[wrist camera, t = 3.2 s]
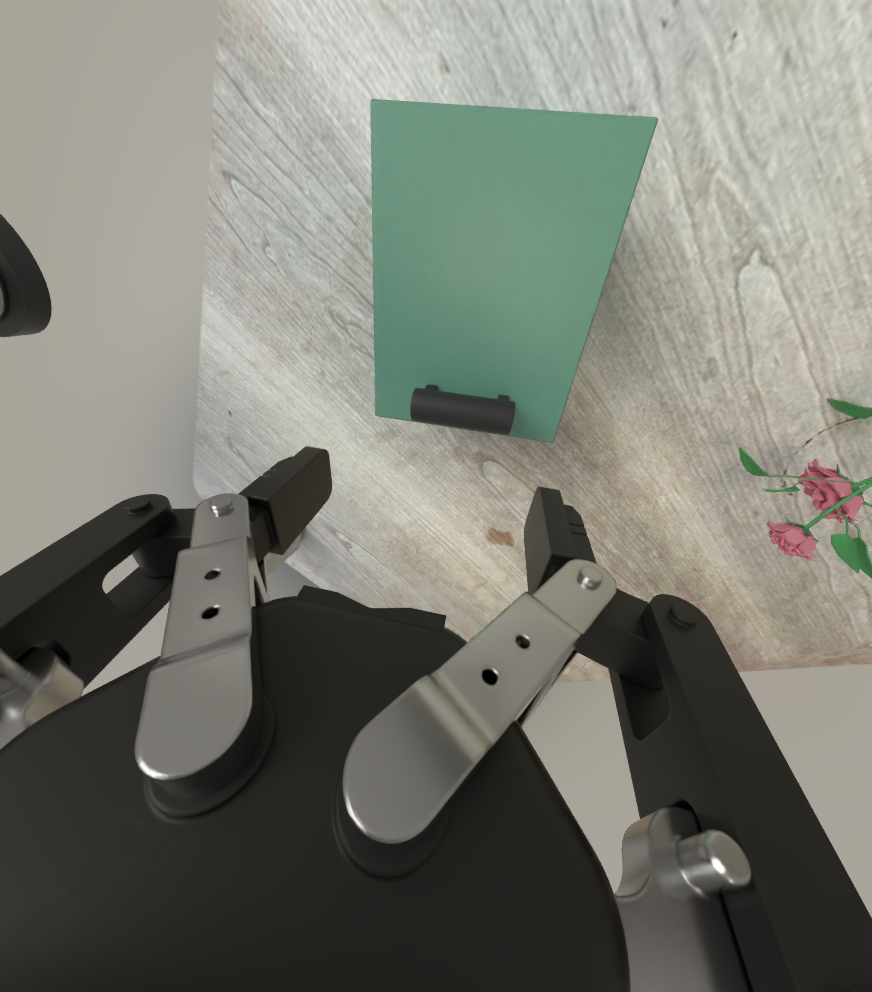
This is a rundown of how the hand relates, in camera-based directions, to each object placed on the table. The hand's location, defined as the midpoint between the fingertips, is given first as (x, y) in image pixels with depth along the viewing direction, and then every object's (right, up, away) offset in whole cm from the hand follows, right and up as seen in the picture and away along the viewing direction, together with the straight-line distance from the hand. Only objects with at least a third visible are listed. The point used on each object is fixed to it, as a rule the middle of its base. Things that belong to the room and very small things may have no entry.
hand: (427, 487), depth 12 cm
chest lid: (+3, +10, +6) cm, 12 cm away
